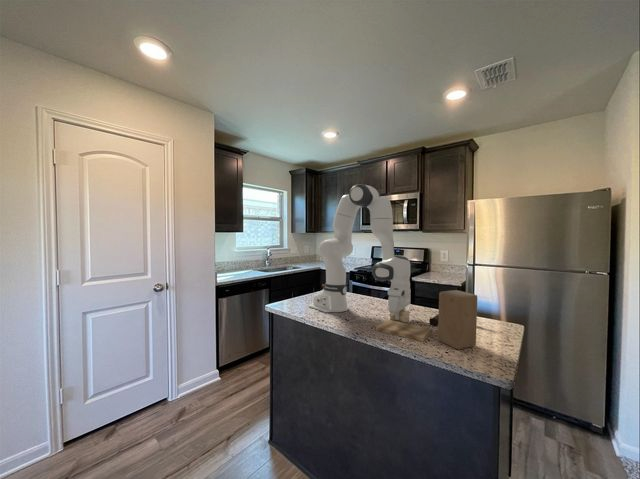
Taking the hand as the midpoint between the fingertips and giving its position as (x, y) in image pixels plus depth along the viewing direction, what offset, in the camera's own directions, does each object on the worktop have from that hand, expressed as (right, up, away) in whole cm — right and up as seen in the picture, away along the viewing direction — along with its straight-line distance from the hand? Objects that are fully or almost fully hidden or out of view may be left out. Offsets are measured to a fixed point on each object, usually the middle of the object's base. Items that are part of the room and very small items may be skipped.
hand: (399, 317), depth 133 cm
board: (-2, -2, -13) cm, 14 cm away
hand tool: (+20, -3, +1) cm, 20 cm away
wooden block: (+15, -3, -26) cm, 30 cm away
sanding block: (0, -2, 0) cm, 2 cm away
